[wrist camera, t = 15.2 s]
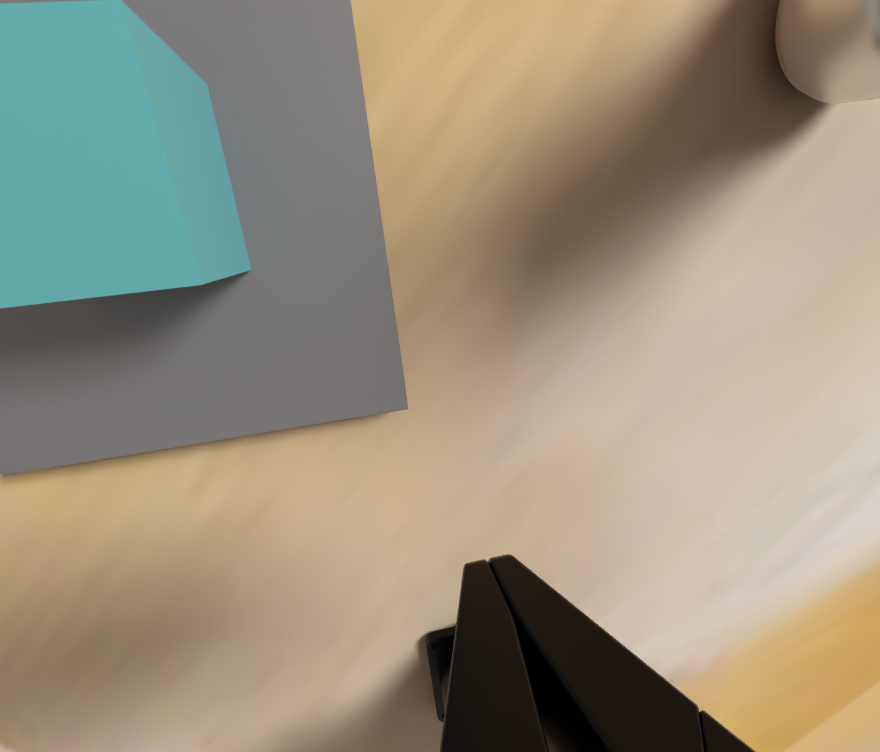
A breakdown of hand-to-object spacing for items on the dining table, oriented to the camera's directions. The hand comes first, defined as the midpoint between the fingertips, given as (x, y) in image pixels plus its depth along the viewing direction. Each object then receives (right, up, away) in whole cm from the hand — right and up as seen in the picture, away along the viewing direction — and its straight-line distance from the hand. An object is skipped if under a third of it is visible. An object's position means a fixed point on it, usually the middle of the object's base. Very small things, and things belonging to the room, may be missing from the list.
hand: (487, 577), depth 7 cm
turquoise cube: (-10, +9, +6) cm, 15 cm away
